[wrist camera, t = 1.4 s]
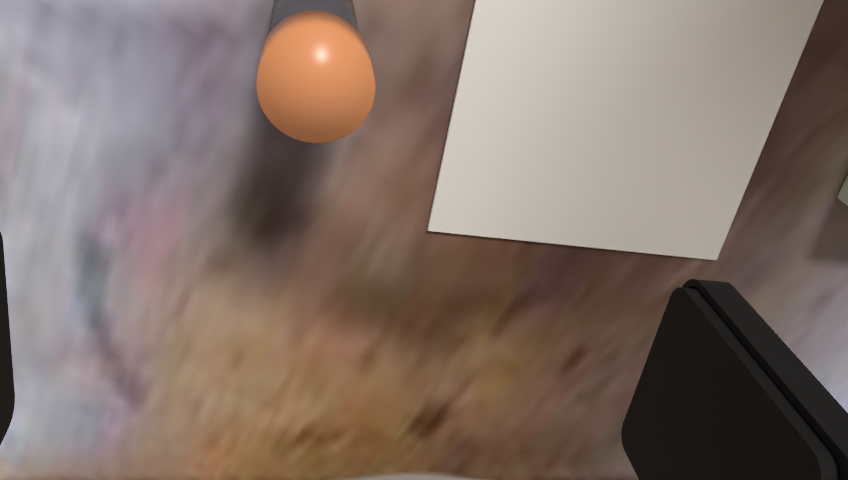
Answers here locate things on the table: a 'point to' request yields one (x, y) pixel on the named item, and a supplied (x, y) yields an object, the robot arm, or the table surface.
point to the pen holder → (844, 192)
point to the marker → (315, 71)
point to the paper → (614, 119)
